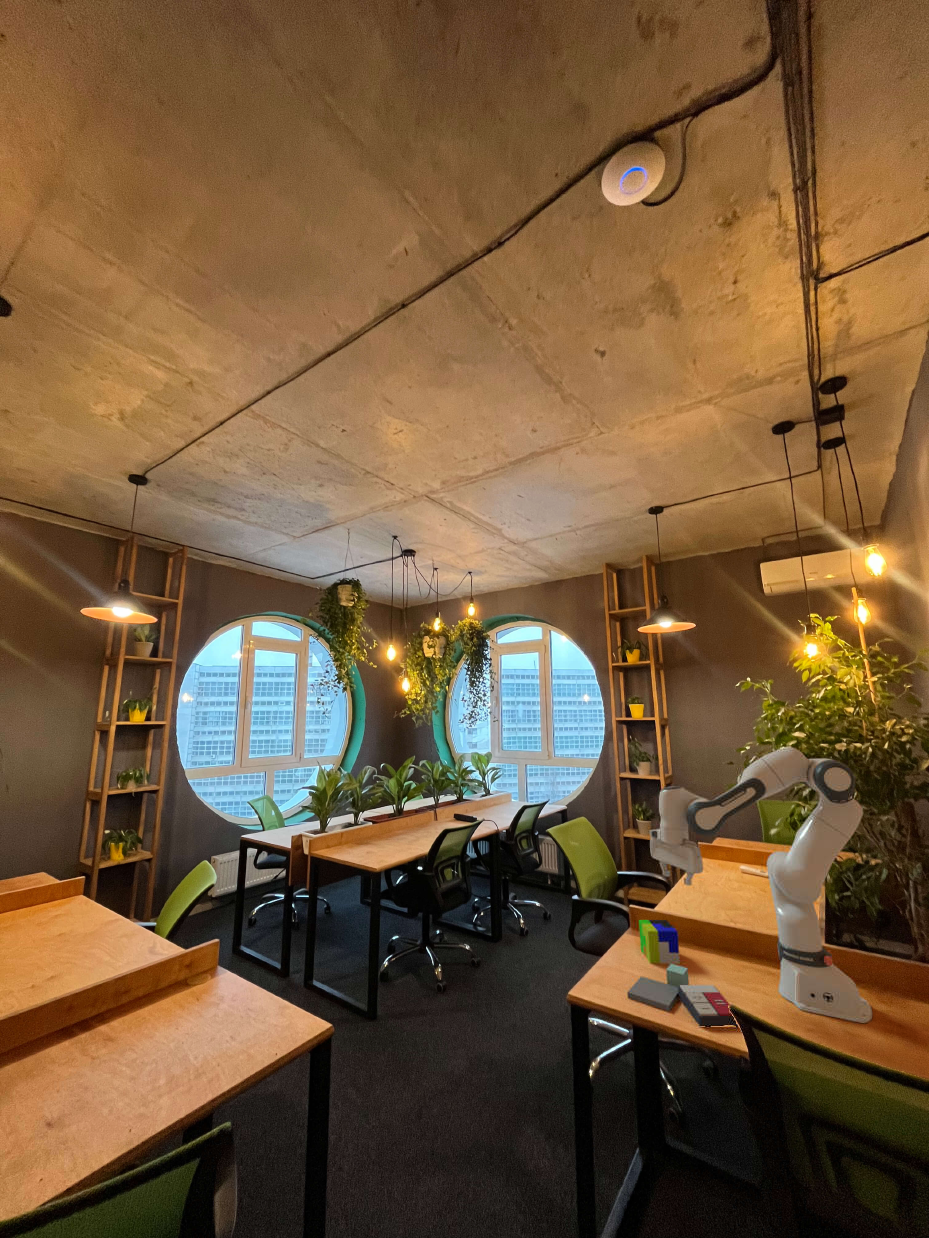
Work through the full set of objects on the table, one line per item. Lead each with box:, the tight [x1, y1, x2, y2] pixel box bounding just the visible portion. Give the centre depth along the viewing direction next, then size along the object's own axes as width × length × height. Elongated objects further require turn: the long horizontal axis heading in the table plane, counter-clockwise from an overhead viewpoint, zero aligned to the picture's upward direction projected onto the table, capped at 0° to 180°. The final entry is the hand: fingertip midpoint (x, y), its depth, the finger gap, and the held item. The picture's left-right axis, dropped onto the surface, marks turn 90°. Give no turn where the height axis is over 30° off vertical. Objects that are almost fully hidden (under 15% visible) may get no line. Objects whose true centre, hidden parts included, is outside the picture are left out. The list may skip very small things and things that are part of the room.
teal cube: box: [665, 963, 690, 987], centre depth 158 cm, size 5×5×5 cm
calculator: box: [678, 984, 739, 1029], centre depth 144 cm, size 11×4×15 cm
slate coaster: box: [627, 975, 679, 1012], centre depth 152 cm, size 12×12×2 cm
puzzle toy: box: [638, 919, 681, 965], centre depth 178 cm, size 10×10×10 cm
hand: (676, 880), depth 168 cm, fingers open, 8 cm apart
